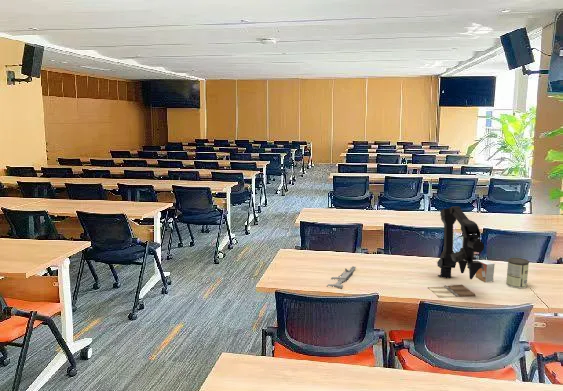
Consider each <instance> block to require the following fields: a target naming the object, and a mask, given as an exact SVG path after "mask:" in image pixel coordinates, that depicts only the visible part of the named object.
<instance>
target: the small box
mask: <svg viewBox="0 0 563 391" xmlns="http://www.w3.org/2000/svg"><path fill="white" fill-rule="evenodd" d="M477 261H479V262H481V263H482V268H480V269H479V270H478V271H477V272H476V274H475V275H474V277H475V278H476V279H477V280H479V281H481V282H483V283H492V282H494V275H495V265H496V263H495V262H491V261H489V260H486V259H480V260H479V259H478V260H477Z"/></svg>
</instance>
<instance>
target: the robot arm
mask: <svg viewBox="0 0 563 391" xmlns="http://www.w3.org/2000/svg"><path fill="white" fill-rule="evenodd" d="M439 214H440V220H441V222H442V223H443V250H442V252H441V254H440V258H439V259H438V260H437V261H436V263H437V264H436V265H437V267H438V268H440V272H439V273H440V274H437V276H438V277H439V278H444V279H451V278H452V269H455V268H456V266H457V263H458V267H459V270H460V274H464V273H465V270H466V268H467V269H468V272H469V275H468V276H469V280H472V279H473V278H474V277H475V276H476V272H477V271H478V270H479V269H480V268H482V263H481V262H479V261H478V260H476V257H475V253H477V254H479V253H481V252H483V251H484V249H485V245H484V243H483V241H481V240H482V239H481V238H482V236H481V235H482V233H481V231H480V228H479V225H478V224H477V223H476V222H475V221H473V220H472V219H470V218H468V216H467V215H466V214H465V213H464V212H463V210H462V208H461V206H450V207H448V208H442V210H441V211H440V213H439ZM456 222H458V224H459V226H460V230H461V233H462V234H461V236H462V247H461V248H460V249H459V251H456V252H454V224H455V223H456Z"/></svg>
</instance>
